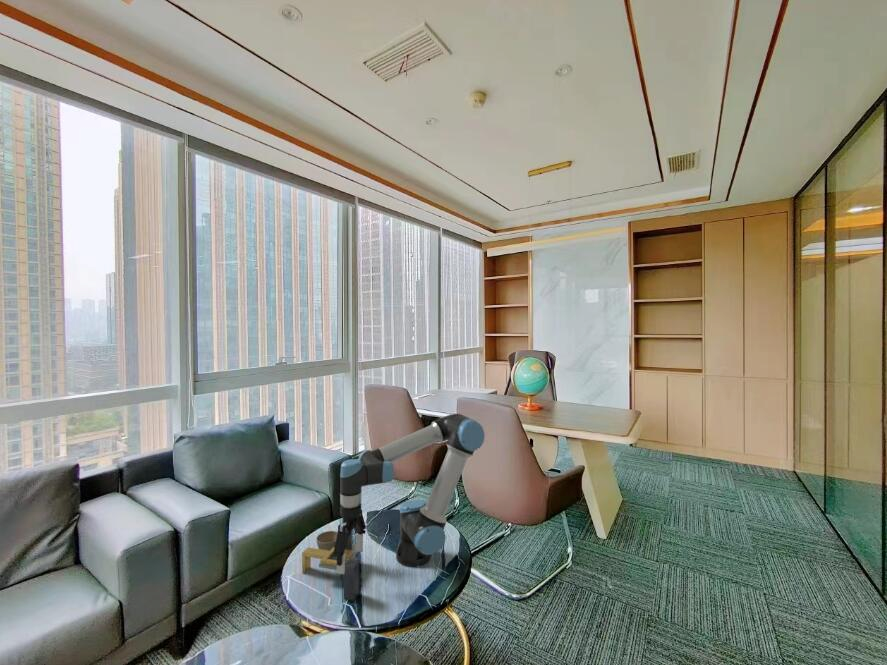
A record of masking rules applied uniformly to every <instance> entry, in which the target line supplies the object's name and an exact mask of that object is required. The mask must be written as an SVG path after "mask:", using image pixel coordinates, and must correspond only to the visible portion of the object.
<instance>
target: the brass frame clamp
mask: <svg viewBox="0 0 887 665" xmlns="http://www.w3.org/2000/svg"><path fill="white" fill-rule="evenodd" d="M341 520H342V521H341V525H342V524H343V520H344V519H343V518H342V517H341ZM346 532H349V531H346ZM333 552H334V547H333V548H332V549H331V550H330V551H327V550H321V549H319V548H314V547H309V546H308V547H307V548H305V549H304V550H303V551H302V552H301V566H302V567H301V568H302V569H301V570H302V571H301V573H302V574H303V575H304V574H306V573H307V572H309V570H310V569H311V568H312V567H311V566H312V565H311V564H312V562H311V561H312V560H311V558H312V559H313V558H314V559H318V560H320V562H319V564H318V568H323V569H329V570H334V571H337V559H334V557H333ZM358 553H359V552H357V551H355V544H353V531H352V532H351V535H349V538H348V541H347V544H346V548H345V551H344V554H345V564H346V563H347V562H348V561H349V560H354V561H359V562H360V557H356V555H357V554H358Z"/></svg>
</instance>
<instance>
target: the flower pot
mask: <svg viewBox="0 0 887 665" xmlns="http://www.w3.org/2000/svg"><path fill="white" fill-rule="evenodd" d="M337 533H338V531H337V530H328V531H322V532H321V533H319V534H318V535H317V536H316V538H315V541H316V546H317V549H321V550H327V551H330V550H331V549H332V548H333V547H335V543H336V538H337Z"/></svg>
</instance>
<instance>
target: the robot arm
mask: <svg viewBox="0 0 887 665" xmlns="http://www.w3.org/2000/svg"><path fill="white" fill-rule="evenodd" d="M444 441H447V442H446V446H447V452H446V454H445V457H444V459H443V461H442V464H441V466H440V469H439V472H438V474H437V476H436V478H435V481H434V483H433V486H432V489H431V492H430V494H429V495H428V496H429V497H428V499H427V500H426V501H425V500H422V499H412V500H407V501H404V502H402V503H401V505H400V508H399V509H400V510H399V541H398V544H397V547H396V552H395V559H396V561H397V562H398V564H400V565H402V566H405V567H412V568H413V567H419V566H420V567H421V566H423V565H425V564H427V563H429V561H430V560H431V558H432V555H433V554H434V553H438V552H439V550H441V549H442V548H443V546H444V544H445V541H446V532H445V530H444V529H445V526H446V525H447V521H448V520H447V518H446V515H447V514H446V513H447V510H448V508H449V506H450V503H451V501H452V498H453V496H454V493H455V490H456V488H457V485H458V483H459V481H460V478H461V476H462V473H463V470H464V468H465V466H466V463H467V460H468V458H470V457H472V456H473V454H474V452H475V451H477V450H478V449H480V448H481V447H482V446H483V444H484V441H485V429H484V428H483V426H482V425H481V424H480V423H479V421H476V420H475V419H474V418H470V417H468V416H466V415H463V414H461V413H452V414H449V415H446V416H442V417H441V418H438V419H436V420H433V421H432V422H431V424H430V425H428V426H426V427H423V428H421V429H419V430H416V431H414V432H412V433H410V434H407V435H406V436H403V437H400V438H398V439H397V440H394V441H392V442H389V443H387V444H386V445H383V446H380V447H378V448H375V449H373V450H371V449H365V450H364V451H361V452H360V454H359V456H358V458H354V459H353V458H349V459H346V460H344V461H343V462H342V463H341V464H340V474H339V478H340V481H339V482H340V493H339V496H340V498H339V501H340V506H339V515H340V517H341V519H342V518H343V519H344V520H343V524H342V523H341V524H338V526H337V527H338V528H337V532H338V533H337V538H336V543H335V547H334V552H333V558H334V557H335V558H336V560H337V570H336V574H339V575H344V573H345V554H344V551H345V548H346V544H347V541H348V538H349V535H351V532H352V533H353V530H355V532H356V533H355V539H354V541H355V544H354V545H355V551H357V552H358V553H363V552H364V551H363V548H364V546H363V544H364V535H363V534H366V529H367V526H366V523H365V522H366V521H365V519H364V515H363V509H362V487H366V486H373V485H378V484H385V483H391V482H392V481H393V480H394V478H395V477H394V476H395V469H394V468H395V466H394V464H393V463H394V462H395V461H398V460H400V459H402V458H405V457H406V456H409V455H412V454H413V453H415V452H418V451H420V450H422V449H424V448H427V447H429V446H430V445H433V444H435V443H437V442H439V443H443V442H444ZM346 531H349V532H346Z"/></svg>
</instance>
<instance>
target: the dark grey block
mask: <svg viewBox="0 0 887 665" xmlns="http://www.w3.org/2000/svg"><path fill="white" fill-rule="evenodd" d="M359 595H360V560H359V561H354V560H349V561H348V562H347V563H346V564H345V573H344V574H343V600H346V601H353V602H354V601H355V600H356V598H357V597H358V596H359Z"/></svg>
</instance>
